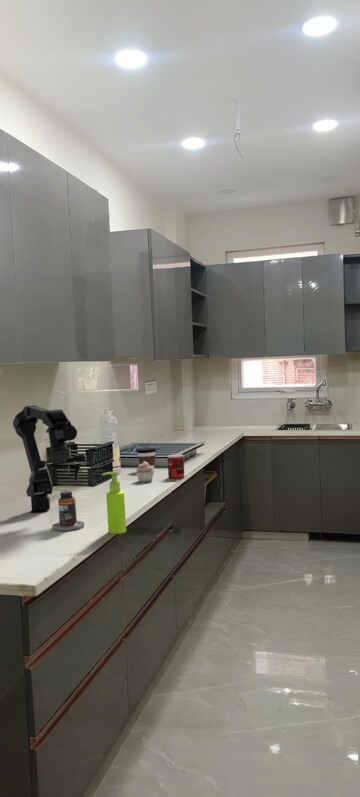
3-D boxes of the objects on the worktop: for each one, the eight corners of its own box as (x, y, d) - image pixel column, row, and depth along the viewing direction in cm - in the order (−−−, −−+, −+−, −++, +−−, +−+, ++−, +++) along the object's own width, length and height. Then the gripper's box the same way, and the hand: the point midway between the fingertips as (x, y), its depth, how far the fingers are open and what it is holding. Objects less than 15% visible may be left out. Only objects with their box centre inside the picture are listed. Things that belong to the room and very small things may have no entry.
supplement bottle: (72, 520, 217) (71, 489, 217) (79, 524, 212) (77, 491, 212) (56, 523, 214) (55, 491, 213) (63, 527, 209) (61, 494, 208)
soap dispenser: (106, 529, 207) (103, 471, 206) (127, 528, 207) (123, 470, 206) (104, 534, 201) (100, 474, 200) (125, 533, 201) (121, 473, 200)
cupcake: (135, 480, 299) (134, 459, 299) (154, 479, 300) (153, 458, 299) (135, 483, 290) (134, 462, 290) (155, 482, 291) (153, 461, 290)
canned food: (169, 476, 305) (168, 454, 304) (185, 476, 304) (184, 454, 303) (167, 479, 297) (166, 456, 297) (183, 478, 296) (182, 456, 296)
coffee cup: (143, 469, 332) (141, 447, 332) (161, 469, 328) (160, 447, 327) (133, 472, 322) (132, 450, 322) (152, 473, 318) (151, 450, 317)
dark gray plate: (49, 532, 207) (49, 529, 207) (55, 524, 218) (54, 521, 218) (82, 530, 208) (82, 527, 208) (86, 522, 219) (85, 519, 219)
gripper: (29, 446, 219) (35, 490, 217) (81, 438, 221) (87, 481, 219) (33, 447, 230) (39, 488, 229) (83, 439, 232) (89, 480, 231)
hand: (63, 485), depth 226 cm, fingers open, 9 cm apart
